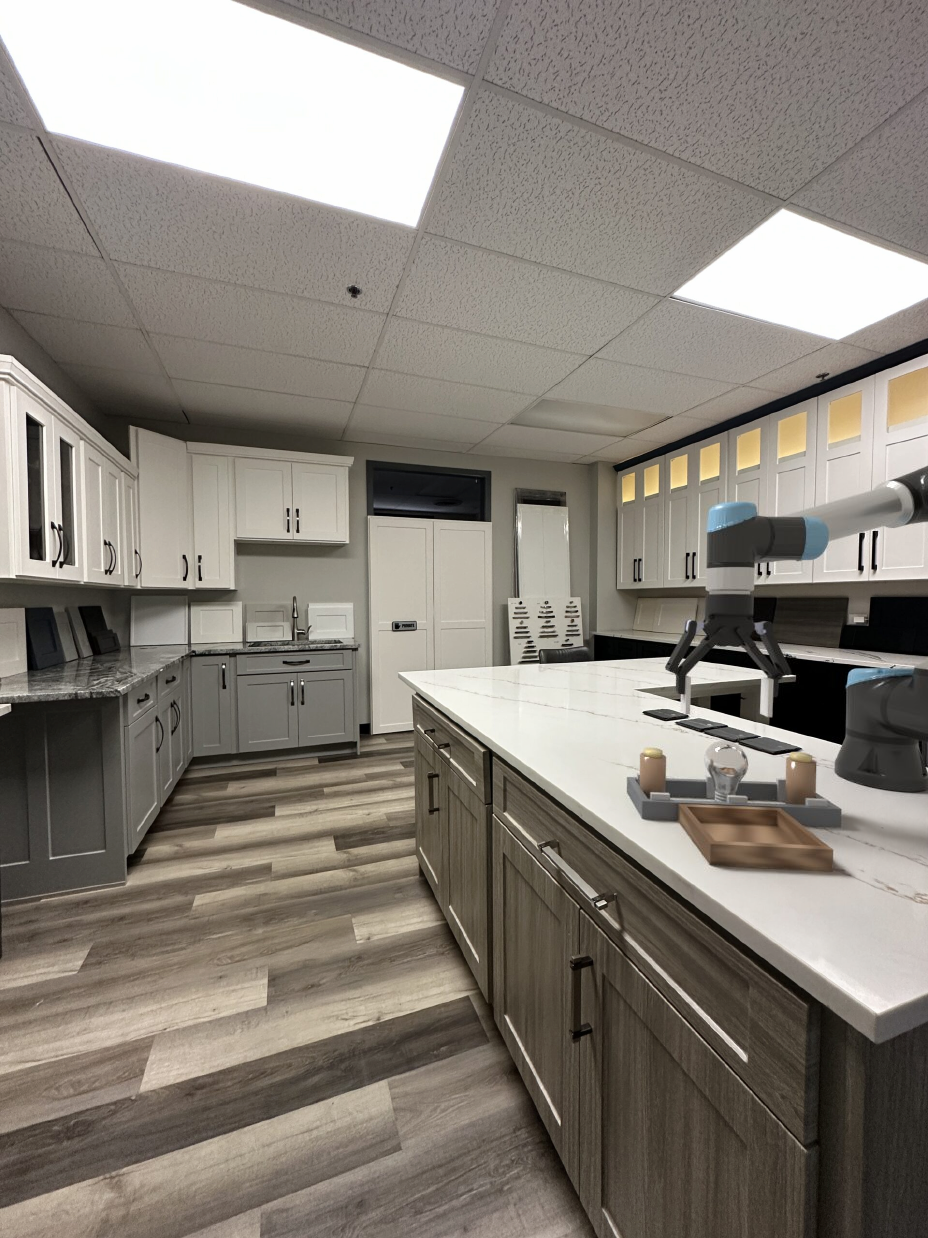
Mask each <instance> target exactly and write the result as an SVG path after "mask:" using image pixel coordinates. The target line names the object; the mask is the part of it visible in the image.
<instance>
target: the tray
mask: <svg viewBox="0 0 928 1238" xmlns="http://www.w3.org/2000/svg"><path fill="white" fill-rule="evenodd" d="M677 822H678V823H679V825H680V827H682V829H683V830H684V832H685V833H686V834H687V836H688V837H689V838H690V840H691V841H692V842H693V844H694V845H695V846H696V849H697V850H698V851H699V852H700V854H701V855H702V856H703V857H704V860H706V861H707V864H709V866H721V867H737V868H738V867H739V868H740V867H742V868H746V867H747V868H760V869H761V868H763V869H777V870H778V869H780V870H783V869H784V870H797V871H798V870H799V871H800V870H803V871H815V872H816V871H817V872H818V871H819V872H834V849H833V848H832V847H831V846H829V845H828V844H827V843H826V842H824V841H823V840H822V839H821V838H819V836H817V835H815V834H814V833H813V832H812V831H810V829H809V828H806V827H805V826H803V825H801V824H800V823H799V822H797V821H796V820H795V819H794V818H792V817H791V816H790V815H789V814H787V813H786V812H785V811H783V810H782V809H781V808H770V807H745V806H720V805H695V804H678V820H677Z"/></svg>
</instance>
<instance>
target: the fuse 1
mask: <svg viewBox="0 0 928 1238" xmlns="http://www.w3.org/2000/svg"><path fill="white" fill-rule="evenodd" d="M663 752H664V751H663V749H661V748H656V747H645V748H643V752H641V753H640V754H639V773H640V789H641V790H642V791H643V792H644V794H645V795H646V797H647V798H648V799H650V792H657V793H666V778H667V756H666V755H664V754H663Z"/></svg>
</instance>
